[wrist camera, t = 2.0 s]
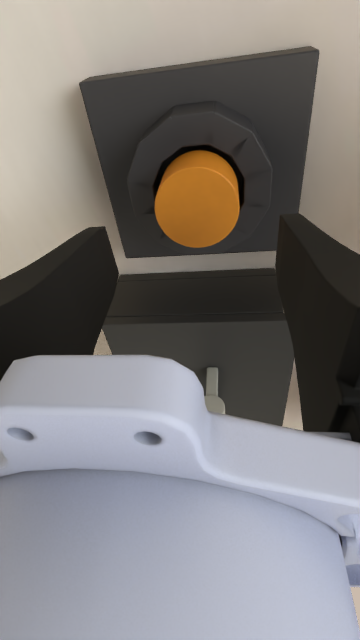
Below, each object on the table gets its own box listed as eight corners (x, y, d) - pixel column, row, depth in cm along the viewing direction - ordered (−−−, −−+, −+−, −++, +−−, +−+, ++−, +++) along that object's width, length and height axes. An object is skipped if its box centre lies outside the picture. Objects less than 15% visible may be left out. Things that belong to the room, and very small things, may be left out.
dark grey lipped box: (275, 267, 22) (283, 311, 19) (264, 382, 30) (269, 426, 27) (119, 274, 23) (103, 316, 20) (151, 382, 32) (143, 423, 29)
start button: (238, 145, 14) (239, 162, 13) (238, 224, 16) (239, 246, 15) (154, 154, 15) (147, 171, 13) (166, 228, 17) (161, 250, 16)
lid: (299, 312, 18) (315, 377, 15) (279, 427, 27) (287, 484, 24) (103, 316, 20) (80, 377, 17) (143, 423, 29) (133, 477, 25)
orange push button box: (312, 45, 14) (332, 55, 11) (290, 236, 20) (299, 270, 18) (88, 76, 15) (61, 91, 13) (130, 246, 22) (118, 278, 19)
